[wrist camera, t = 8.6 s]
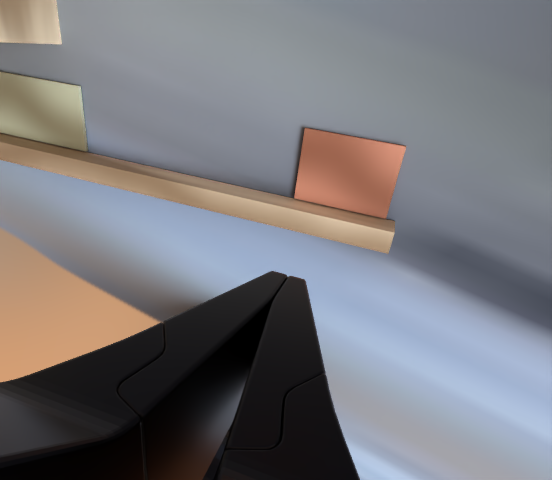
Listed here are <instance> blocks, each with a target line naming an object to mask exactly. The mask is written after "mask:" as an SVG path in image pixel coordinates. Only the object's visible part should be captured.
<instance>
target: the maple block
mask: <svg viewBox="0 0 552 480" xmlns="http://www.w3.org/2000/svg"><path fill="white" fill-rule="evenodd" d="M0 42H4V43H34V44H62V42H61V34H60V26H59V18H58V10H57V2H56V0H0Z"/></svg>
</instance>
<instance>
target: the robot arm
mask: <svg viewBox="0 0 552 480" xmlns="http://www.w3.org/2000/svg"><path fill="white" fill-rule="evenodd" d="M0 480H360V478H359V476H358V473H357V470H356V468H355V465H354V462H353V460H352V457H351V455H350V452H349V449H348V447H347V444H346V441H345V439H344V436H343V433H342V430H341V427H340V424H339V421H338V419H337V416H336V413H335V409H334V405H333V402H332V398H331V394H330V390H329V386H328V381H327V377H326V375H325V368H324V363H323V359H322V354H321V350H320V345H319V340H318V336H317V331H316V327H315V322H314V317H313V313H312V308H311V304H310V299H309V294H308V290H307V285H306V281H305V280H304V279H301V278H297V277H293V276H289V277H287V275H285V274H282V273H278V272H275V271H271V272H268V273H266V274H264V275H262V276H260V277H257V278H255V279H253V280H251V281H249V282H247V283H245V284H243V285H240V286H238V287H236V288H234V289H232V290H230V291H228V292H225V293H223V294H221V295H219V296H217V297H215V298H213V299H211V300H208V301H206V302H204V303H202V304H200V305H198V306H196V307H193V308H191V309H189V310H187V311H185V312H183V313H181V314H179V315H176V316H174V317H172V318H170V319H168V320H166V321H164V323H159V324H157V325H155V326H153V327H151V328H148V329H146V330H144V331H142V332H139V333H137V334H135V335H133V336H130V337H128V338H126V339H124V340H121V341H118V342H116V343H113V344H111V345H108V346H106V347H103V348H101V349H98V350H95V351H93V352H90V353H87V354H84V355H82V356H79V357H76V358H73V359H71V360H68V361H65V362H63V363H60V364H57V365H54V366H52V367H49V368H46V369H44V370H41V371H38V372H35V373H33V374H30V375H27V376H24V377H21V378H18V379H14V380H10V381H6V382H0Z"/></svg>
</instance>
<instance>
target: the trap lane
mask: <svg viewBox="0 0 552 480" xmlns="http://www.w3.org/2000/svg"><path fill="white" fill-rule="evenodd" d="M0 132H1V133H0V160H3V161H7V162H12V163H16V164H20V165H24V166H28V167H32V168H36V169H41V170H45V171H49V172H53V173H57V174H61V175H65V176H69V177H74V178H78V179H82V180H86V181H90V182H94V183H98V184H102V185H107V186H111V187H115V188H119V189H123V190H127V191H131V192H135V193H140V194H144V195H148V196H152V197H156V198H160V199H164V200H169V201H173V202H177V203H181V204H185V205H189V206H193V207H197V208H202V209H206V210H210V211H214V212H218V213H222V214H226V215H230V216H235V217H239V218H243V219H247V220H251V221H255V222H259V223H263V224H268V225H272V226H276V227H280V228H284V229H288V230H292V231H297V232H301V233H305V234H309V235H313V236H317V237H321V238H325V239H330V240H334V241H338V242H342V243H346V244H350V245H354V246H358V247H363V248H367V249H371V250H375V251H379V252H383V253H387V254H388V253H389V249H390V246H391V243H392V239H393V236H394V232H395V221H391V220H387V219H386V216H387V213H388V209H389V206H390V202H391V199H392V195H393V191H394V188H395V184H396V181H397V177H398V174H399V170H400V167H401V163H402V160H403V156H404V153H405V149H406V146H403V145H397V144H392V143H386V142H381V141H376V140H370V139H365V138H359V137H354V136H348V135H343V134H338V133H332V132H327V131H321V130H316V129H310V128H305V131H304V137H303V144H302V150H301V157H300V163H299V170H298V176H297V183H296V189H295V196H294V198H295V199H293V198H289V197H285V196H280V195H276V194H271V193H267V192H262V191H258V190H253V189H249V188H244V187H240V186H235V185H231V184H227V183H222V182H218V181H213V180H209V179H204V178H200V177H195V176H191V175H186V174H182V173H178V172H173V171H169V170H164V169H160V168H155V167H151V166H146V165H142V164H137V163H133V162H129V161H124V160H120V159H115V158H111V157H106V156H102V155H97V154H93V153H88V152H86V151H88V146H87V137H86V129H85V120H84V111H83V102H82V94H81V86H77V85H71V84H66V83H60V82H55V81H49V80H44V79H38V78H33V77H28V76H22V75H17V74H11V73H6V72H0ZM4 133H5V134H4ZM8 134H9V135H8ZM13 135H14V136H13ZM17 136H18V137H17ZM22 137H23V138H22ZM26 138H27V139H26ZM30 139H32V140H30ZM35 140H36V141H35ZM39 141H41V142H39ZM44 142H45V143H44ZM48 143H50V144H48ZM53 144H54V145H53ZM57 145H59V146H57ZM62 146H63V147H62ZM66 147H67V148H66ZM71 148H72V149H71ZM75 149H76V150H75ZM79 150H81V151H79ZM84 151H85V152H84ZM298 199H299V200H298ZM302 200H304V201H302ZM307 201H308V202H307ZM311 202H313V203H311ZM316 203H317V204H316ZM320 204H322V205H320ZM325 205H326V206H325ZM329 206H331V207H329ZM334 207H335V208H334ZM338 208H340V209H338ZM342 209H344V210H342ZM347 210H349V211H347ZM351 211H353V212H351ZM356 212H357V213H356ZM360 213H362V214H360ZM365 214H366V215H365ZM369 215H371V216H369ZM374 216H375V217H374ZM378 217H380V218H378ZM383 218H384V219H383Z"/></svg>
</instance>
